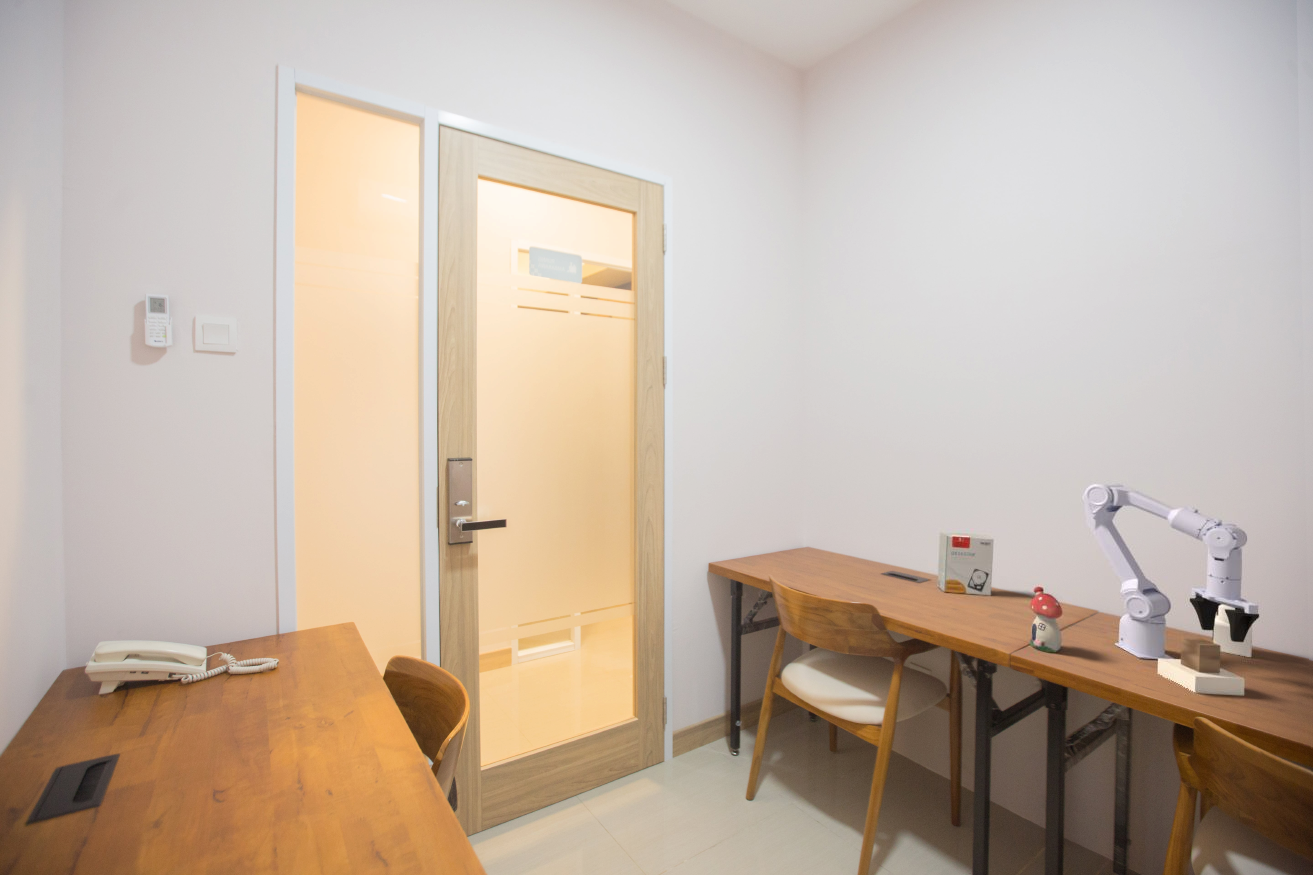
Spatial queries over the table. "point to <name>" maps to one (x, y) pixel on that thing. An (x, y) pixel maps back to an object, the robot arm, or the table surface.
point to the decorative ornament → (1045, 622)
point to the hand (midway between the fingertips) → (1221, 635)
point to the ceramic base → (1201, 678)
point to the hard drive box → (965, 563)
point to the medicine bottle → (1223, 635)
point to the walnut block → (1200, 655)
